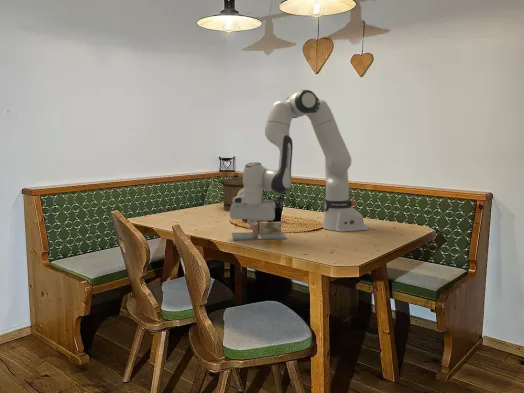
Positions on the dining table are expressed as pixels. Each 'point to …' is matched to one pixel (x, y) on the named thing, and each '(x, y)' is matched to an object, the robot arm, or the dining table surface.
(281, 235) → the card
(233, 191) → the wooden container
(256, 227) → the hinged fence panel
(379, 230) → the dining table surface
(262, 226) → the fixed fence panel
